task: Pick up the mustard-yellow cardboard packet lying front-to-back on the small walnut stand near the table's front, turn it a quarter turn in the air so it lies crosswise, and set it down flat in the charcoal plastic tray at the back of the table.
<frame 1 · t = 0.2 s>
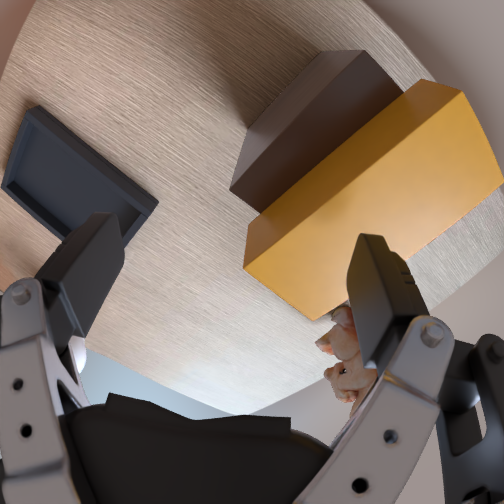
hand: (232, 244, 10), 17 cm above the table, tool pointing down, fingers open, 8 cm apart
stand: (324, 126, 24), on the table
tray: (73, 188, 28), on the table
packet: (363, 184, 14), point 12 cm above the table, touching stand
figurine: (346, 317, 37), on the table
lightbulb: (86, 310, 39), on the table
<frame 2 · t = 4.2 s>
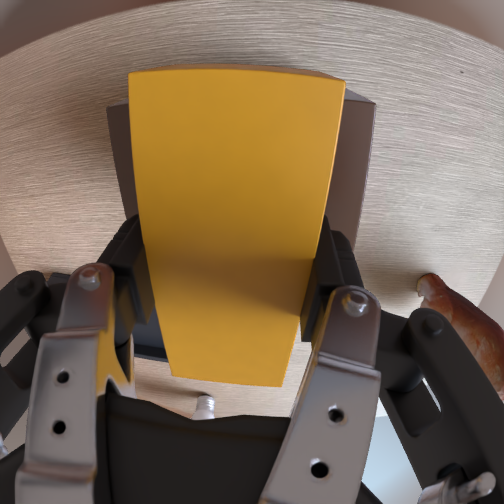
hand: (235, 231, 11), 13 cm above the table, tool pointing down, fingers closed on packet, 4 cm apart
stand: (255, 135, 21), on the table
tray: (123, 315, 34), on the table
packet: (238, 219, 11), point 12 cm above the table, touching gripper, stand
figurine: (434, 282, 28), on the table
lightbulb: (207, 395, 44), on the table
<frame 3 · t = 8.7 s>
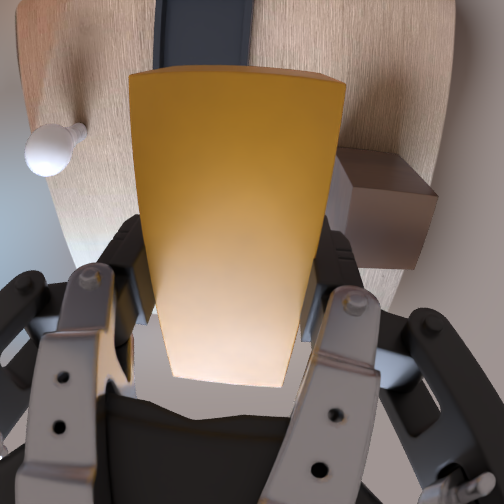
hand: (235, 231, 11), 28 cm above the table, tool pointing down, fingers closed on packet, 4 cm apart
stand: (361, 182, 38), on the table
tray: (202, 56, 30), on the table
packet: (238, 220, 11), point 27 cm above the table, touching gripper
lightbulb: (82, 130, 36), on the table
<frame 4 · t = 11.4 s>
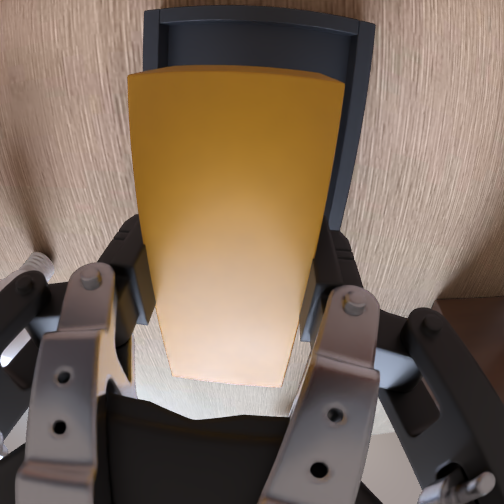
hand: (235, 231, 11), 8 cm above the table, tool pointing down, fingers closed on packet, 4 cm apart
stand: (455, 330, 25), on the table
tray: (250, 157, 17), on the table
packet: (238, 220, 11), point 7 cm above the table, touching gripper
lightbulb: (47, 258, 23), on the table
when the fingers open (1 cm above the table, at t = 13.4 s): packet stays where it is, resting on tray.
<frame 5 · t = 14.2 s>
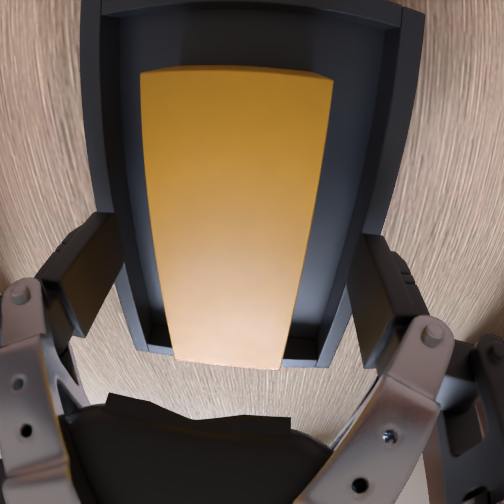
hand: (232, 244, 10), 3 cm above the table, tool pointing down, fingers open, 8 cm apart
stand: (471, 375, 21), on the table
tray: (239, 201, 13), on the table
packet: (238, 209, 12), point 1 cm above the table, touching tray
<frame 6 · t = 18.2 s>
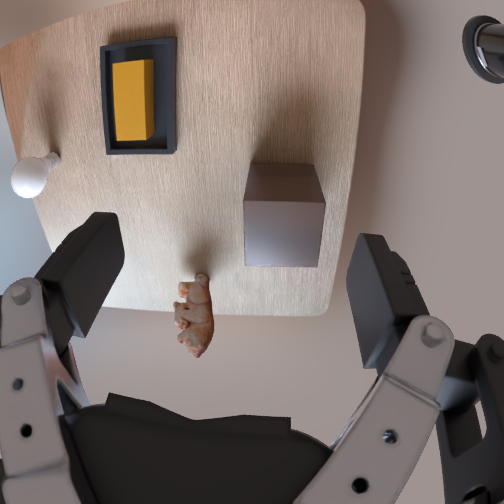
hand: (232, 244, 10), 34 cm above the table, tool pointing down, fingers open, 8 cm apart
stand: (281, 191, 46), on the table
tray: (140, 96, 38), on the table
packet: (139, 97, 37), point 1 cm above the table, touching tray
figurine: (202, 282, 58), on the table
lightbulb: (56, 157, 43), on the table
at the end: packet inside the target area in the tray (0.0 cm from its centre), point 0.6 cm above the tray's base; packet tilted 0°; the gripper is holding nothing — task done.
